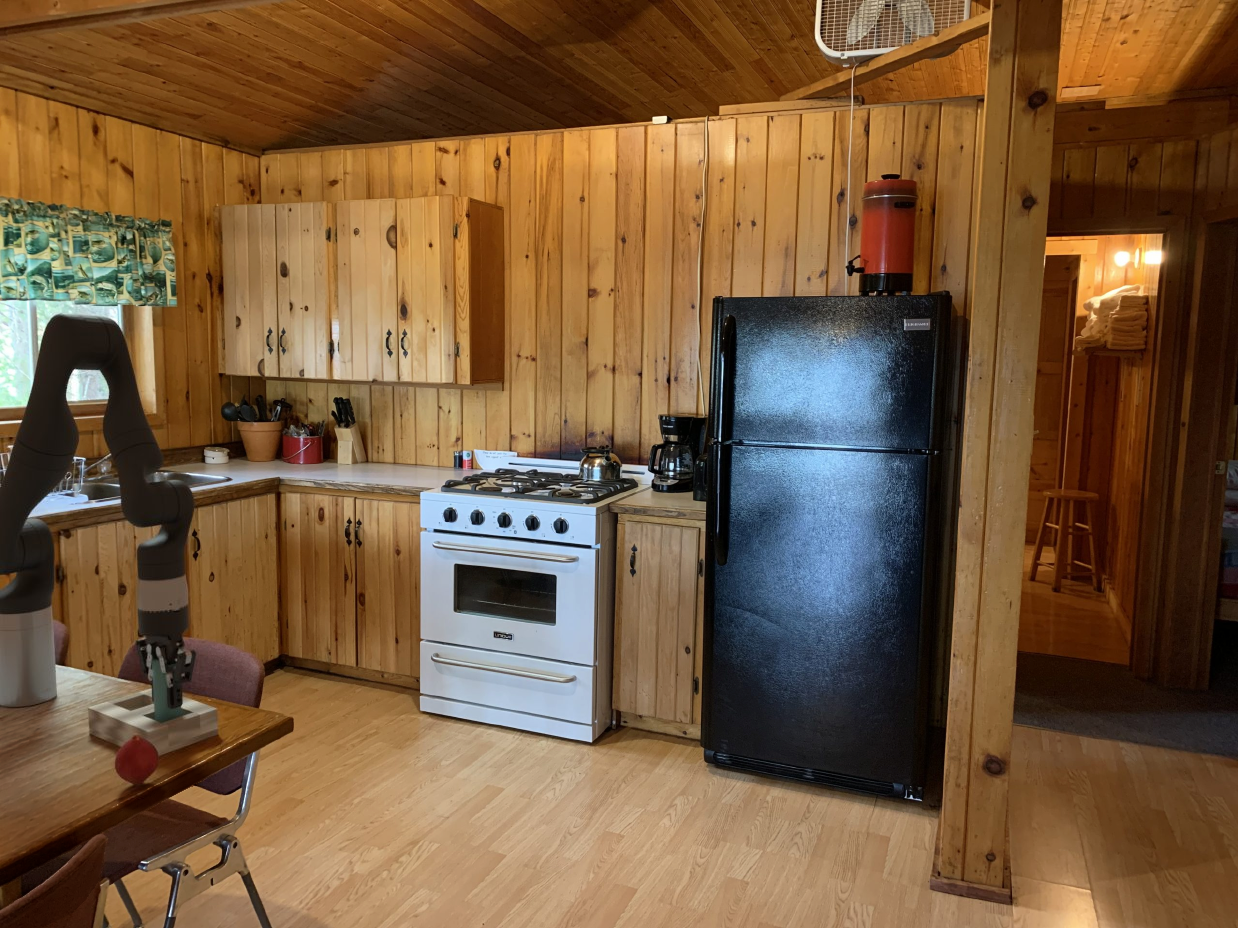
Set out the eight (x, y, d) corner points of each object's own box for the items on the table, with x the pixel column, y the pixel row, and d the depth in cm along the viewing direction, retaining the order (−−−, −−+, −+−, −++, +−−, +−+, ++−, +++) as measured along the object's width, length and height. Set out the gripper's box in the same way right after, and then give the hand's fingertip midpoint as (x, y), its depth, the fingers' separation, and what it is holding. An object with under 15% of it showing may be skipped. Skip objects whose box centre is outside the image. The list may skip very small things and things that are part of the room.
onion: (110, 784, 141) (107, 732, 140) (151, 772, 145) (149, 722, 144) (123, 797, 137) (120, 744, 136) (165, 785, 141) (162, 733, 140)
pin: (150, 729, 156) (146, 659, 155) (172, 722, 160) (169, 653, 158) (164, 735, 154) (160, 664, 153) (186, 727, 157) (184, 657, 156)
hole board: (89, 733, 159) (87, 707, 159) (157, 711, 169) (156, 686, 169) (150, 759, 150) (148, 731, 149) (218, 734, 159) (217, 708, 159)
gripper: (116, 601, 155) (121, 702, 157) (166, 615, 147) (171, 721, 149) (160, 591, 161) (164, 689, 163) (210, 604, 154) (214, 706, 156)
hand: (167, 703), depth 156 cm, fingers closed on pin, 4 cm apart
